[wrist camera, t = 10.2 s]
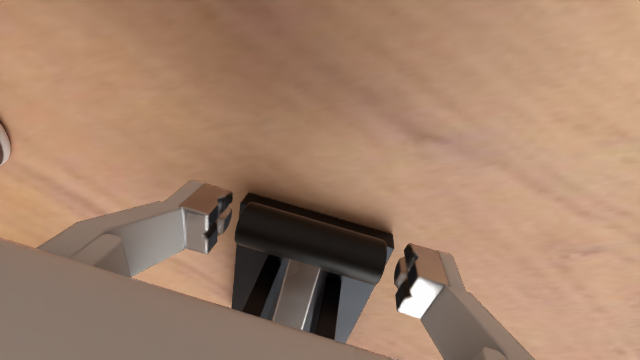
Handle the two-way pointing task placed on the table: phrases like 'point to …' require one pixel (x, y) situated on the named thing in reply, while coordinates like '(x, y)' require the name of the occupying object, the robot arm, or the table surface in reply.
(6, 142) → the supplement bottle
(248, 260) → the bracket
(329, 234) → the lever
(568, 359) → the table surface
